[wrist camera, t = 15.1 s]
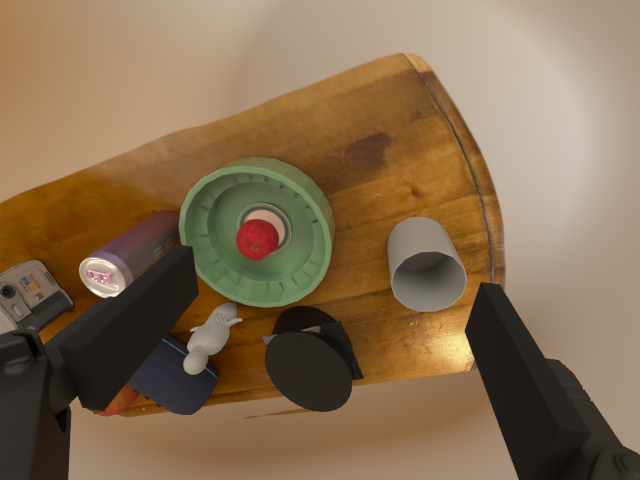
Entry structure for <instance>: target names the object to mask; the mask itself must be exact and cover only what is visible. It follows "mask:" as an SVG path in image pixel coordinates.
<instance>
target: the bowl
mask: <svg viewBox="0 0 640 480" xmlns="http://www.w3.org/2000/svg"><path fill="white" fill-rule="evenodd" d="M258 203H263V204H269V205H272V206H274V207H276V208H278V209H279V210H280V211H281V212H283V214H284V215H285V216H286V217H287V219H288V221H289V223H290V226H291V238H290V241H289V243H288V245H287V246H286V247H285V248H284V249H283V250H281V251H280V252H277V253H274V254H269V255H267V256H266V257H265V258H263V259H262V260H251V259H249V258H247V257H245V256H243V255H242V254H241V253H240V251H239V250H238V248H237V245H236V236H237V233H238V228H237V223H238V218H239V216H240V214H241V213H242V211H243V210H244V209H245V208H247V207H248V206H251V205H253V204H258ZM335 229H336V228H335V222H334V217H333V212H332V209H331V207H330V205H329V203H328V201H327V199H326V197H325V195H324V193H323V192H322V190H321V189H320V188H319V187H318V186H317V185H316V184H315V182H314V181H313V180H312V179H311V178H310V177H309V176H307V175H306V174H304V173H303V172H302V171H300V170H299V169H297V168H296V167H294V166H293V165H290V164H287V163H285V162H282V161H279V160H277V159H274V158H264V157H248V158H243V159H237V160H234V161H232V162H230V163H228V164H226V165H224V166H222V167H220V168H219V169H217V170H215V171H214V172H212V173H210V174H208V175H207V176H205V177H203V178H202V179H201V180H200V181H199V182H198V183H197V184H196V185H195V186H194V187H193V188H192V189H191V190H190V191H189V192H188V195H187V197H186V199H185V201H184V203H183V205H182V207H181V212H180V219H179V233H180V240H181V245H186V246H193V253H194V261H195V268H196V273H197V274H198V275H199V276H200V277H201V278H202V279H203V280H204V281H205V282H206V283H207V284H208V285H209V286H210V287H211V288H213V289H214V290H215V291H217V292H219V293H220V294H222V295H224V296H225V297H227V298H229V299H231V300H234V301H237V302H239V303H242V304H245V305H249V306H256V307H263V308H266V307H279V306H284V305H287V304H290V303H293V302H296V301H299V300H300V299H302V298H303V297H305V296H306V295H308V294H309V293H311V292H312V291H314V289H315V288H316V287H317V286H318V285H319V283H320V282H321V281H322V280H323V278H324V276H325V274H326V271H327V269H328V267H329V264H330V261H331V256H332V252H333V247H334V240H335Z"/></svg>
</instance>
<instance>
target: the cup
mask: <svg viewBox="0 0 640 480" xmlns="http://www.w3.org/2000/svg"><path fill="white" fill-rule="evenodd" d="M387 251H388V261H389V271H390V281H391V286H392V289H393V292H394V296H395V297H396V298H397V299H398V300H399V301H400V302H401V303H402V304H403V305H404V306H405V307H408V308H411V309H414V310H416V311H419V312H436V311H439V310H441V309H444V308H447V307H449V306H451V305H452V304H454V303H455V302H456V301H457V300H458V299H459V298H460V297H461V296H462V295H463V292H464V290H465V287H466V284H467V277H466V272H465V268H464V266H463V264H462V262H461V260H460V258H459V256H458V254H457V252H456V250H455V248H454V246H453V244H452V242H451V240H450V238H449V236H448V234H447V232H446V230H445V229H444V228H443V227H442V226H441V225H440V224H439V222H438V221H435V220H433V219H430V218H427V217H425V216H424V217H410V218H408V219H406V220H404V221H402V222H400V223H398V224H397V225H396V226H395V227H394V229H393V230H392V231H391V232H390V233H389V238H388V242H387Z"/></svg>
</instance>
